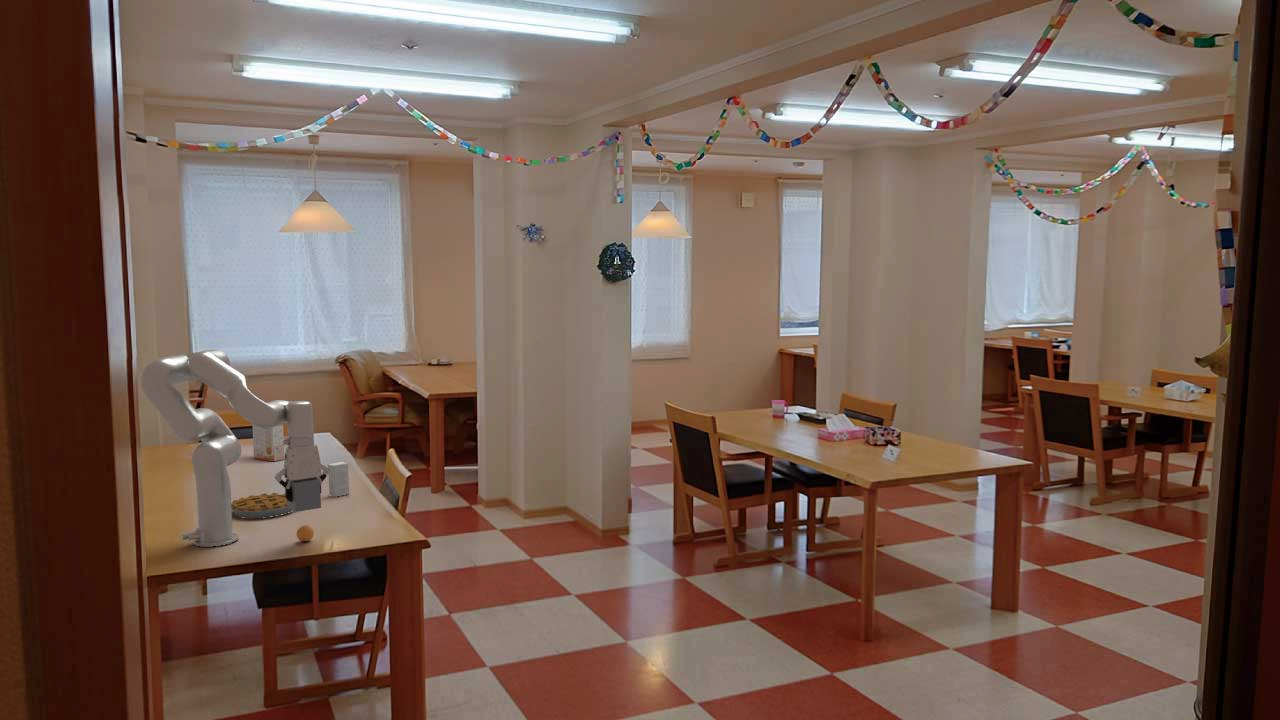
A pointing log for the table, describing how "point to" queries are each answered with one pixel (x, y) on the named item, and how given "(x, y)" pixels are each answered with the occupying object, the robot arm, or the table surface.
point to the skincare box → (338, 479)
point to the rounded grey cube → (305, 495)
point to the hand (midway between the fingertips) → (303, 498)
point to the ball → (305, 533)
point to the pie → (261, 506)
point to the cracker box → (268, 443)
